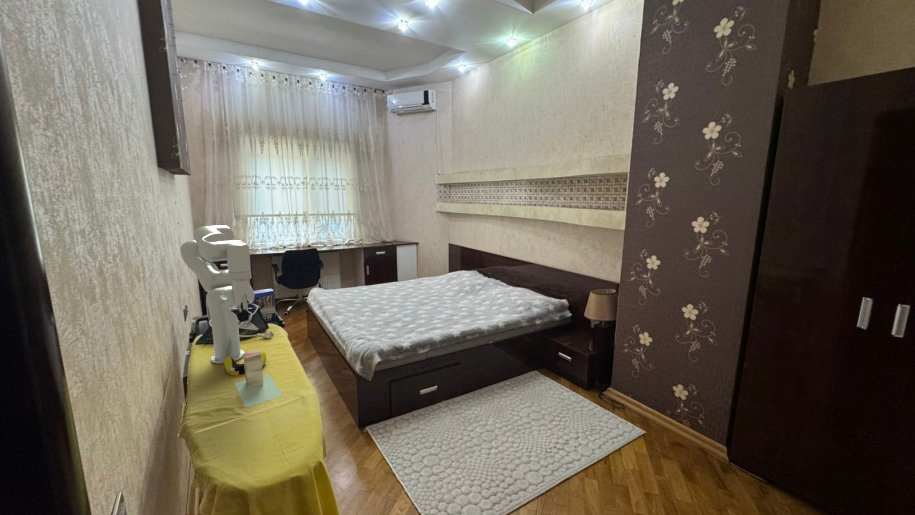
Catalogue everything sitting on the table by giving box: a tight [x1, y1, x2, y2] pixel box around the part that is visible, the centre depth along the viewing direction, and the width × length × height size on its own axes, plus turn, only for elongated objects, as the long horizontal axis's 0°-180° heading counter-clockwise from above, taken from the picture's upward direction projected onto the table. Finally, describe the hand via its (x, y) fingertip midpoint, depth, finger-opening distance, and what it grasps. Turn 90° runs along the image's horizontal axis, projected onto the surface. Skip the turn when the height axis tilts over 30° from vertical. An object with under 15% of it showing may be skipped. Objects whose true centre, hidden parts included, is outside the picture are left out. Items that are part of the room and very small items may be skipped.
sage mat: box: [234, 373, 283, 409], centre depth 136 cm, size 20×12×1 cm, turn 40°
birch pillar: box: [243, 349, 264, 388], centre depth 139 cm, size 5×5×12 cm
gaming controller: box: [224, 351, 267, 377], centre depth 150 cm, size 15×6×10 cm
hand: (243, 320), depth 145 cm, fingers closed
